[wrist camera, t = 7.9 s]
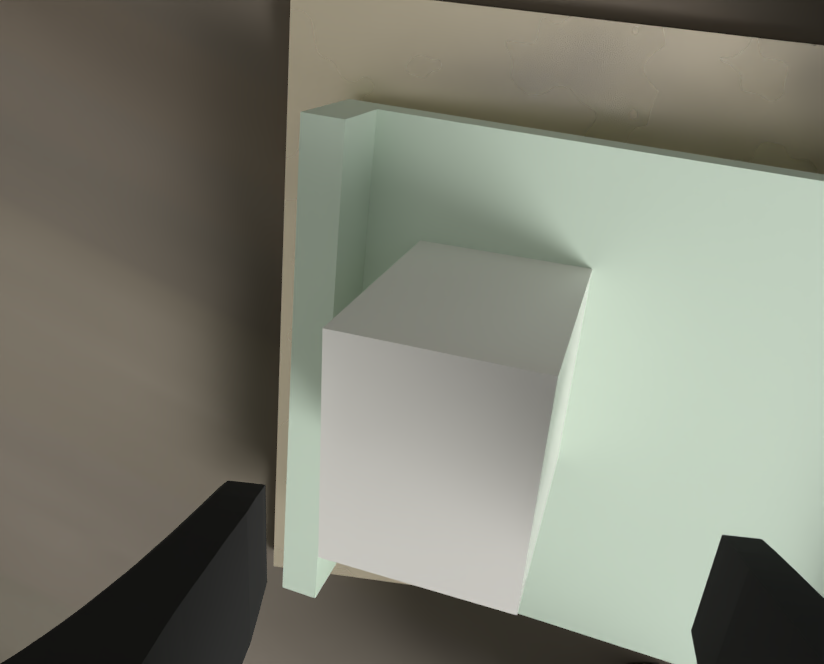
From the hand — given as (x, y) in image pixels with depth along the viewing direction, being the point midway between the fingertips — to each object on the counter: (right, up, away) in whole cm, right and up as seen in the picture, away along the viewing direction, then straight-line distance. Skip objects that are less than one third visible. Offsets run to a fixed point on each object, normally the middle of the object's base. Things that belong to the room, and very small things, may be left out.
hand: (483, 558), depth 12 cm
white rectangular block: (+1, +3, +6) cm, 7 cm away
